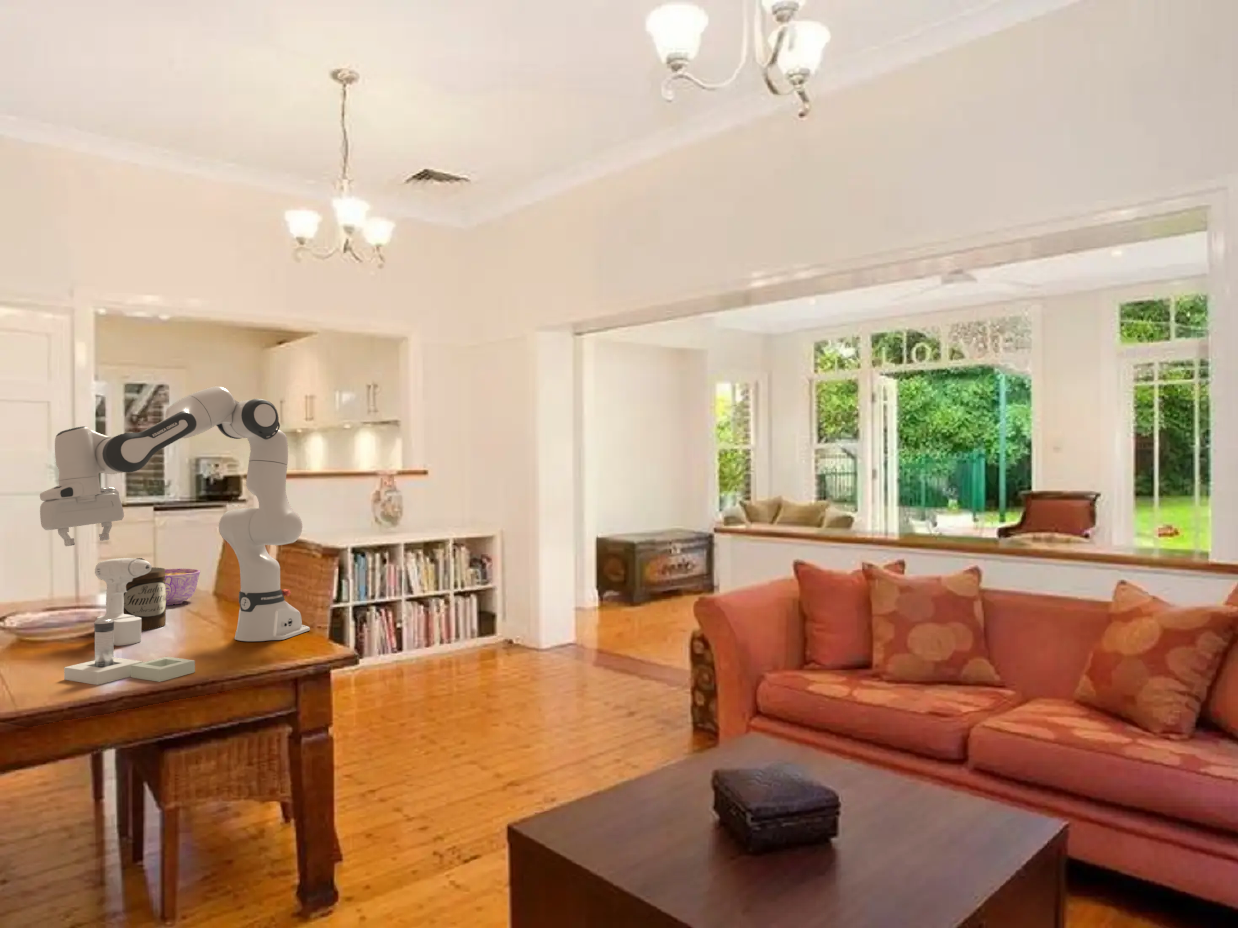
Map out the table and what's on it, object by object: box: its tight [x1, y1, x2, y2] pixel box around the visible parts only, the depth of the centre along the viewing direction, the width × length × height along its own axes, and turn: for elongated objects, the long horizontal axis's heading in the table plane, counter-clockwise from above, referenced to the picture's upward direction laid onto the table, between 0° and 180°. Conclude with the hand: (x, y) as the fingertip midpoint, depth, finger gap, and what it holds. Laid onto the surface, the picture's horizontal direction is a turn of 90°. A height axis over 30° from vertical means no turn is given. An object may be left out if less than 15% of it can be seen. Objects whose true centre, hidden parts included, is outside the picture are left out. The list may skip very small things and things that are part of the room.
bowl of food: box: [164, 568, 201, 606], centre depth 314 cm, size 20×20×12 cm
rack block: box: [130, 656, 196, 683], centre depth 213 cm, size 10×10×3 cm
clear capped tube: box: [93, 619, 115, 668], centre depth 211 cm, size 4×4×14 cm
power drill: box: [94, 557, 152, 647], centre depth 248 cm, size 8×24×25 cm, turn 58°
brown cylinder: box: [124, 557, 167, 631], centre depth 272 cm, size 15×15×22 cm
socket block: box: [63, 656, 144, 686], centre depth 211 cm, size 12×12×3 cm
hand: (87, 542), depth 219 cm, fingers open, 8 cm apart
